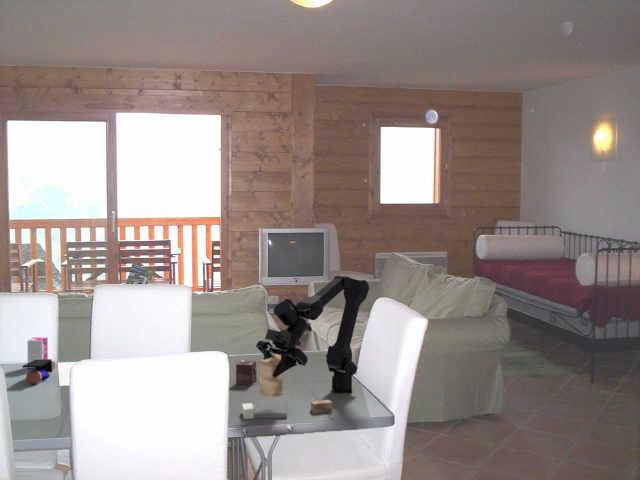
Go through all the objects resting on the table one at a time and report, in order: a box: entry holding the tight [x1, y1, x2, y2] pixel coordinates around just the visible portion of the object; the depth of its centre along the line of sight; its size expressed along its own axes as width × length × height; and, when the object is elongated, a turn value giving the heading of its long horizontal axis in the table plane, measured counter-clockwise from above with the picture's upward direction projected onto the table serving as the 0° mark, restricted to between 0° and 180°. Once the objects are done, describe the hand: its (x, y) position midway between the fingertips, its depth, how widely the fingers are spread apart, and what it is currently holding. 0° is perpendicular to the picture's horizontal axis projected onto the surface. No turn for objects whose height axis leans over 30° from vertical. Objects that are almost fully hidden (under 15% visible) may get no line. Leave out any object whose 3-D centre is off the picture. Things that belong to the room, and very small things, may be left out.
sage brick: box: [241, 402, 255, 420], centre depth 216 cm, size 6×3×3 cm, turn 12°
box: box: [235, 360, 258, 386], centre depth 252 cm, size 6×6×7 cm
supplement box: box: [27, 336, 49, 371], centre depth 270 cm, size 6×6×12 cm
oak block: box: [259, 358, 283, 399], centre depth 218 cm, size 5×5×11 cm
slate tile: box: [253, 402, 288, 419], centre depth 218 cm, size 10×10×2 cm
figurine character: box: [22, 358, 56, 385], centre depth 254 cm, size 7×8×15 cm
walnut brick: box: [310, 399, 333, 414], centre depth 221 cm, size 6×3×3 cm, turn 107°
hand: (267, 375), depth 217 cm, fingers closed on oak block, 5 cm apart
